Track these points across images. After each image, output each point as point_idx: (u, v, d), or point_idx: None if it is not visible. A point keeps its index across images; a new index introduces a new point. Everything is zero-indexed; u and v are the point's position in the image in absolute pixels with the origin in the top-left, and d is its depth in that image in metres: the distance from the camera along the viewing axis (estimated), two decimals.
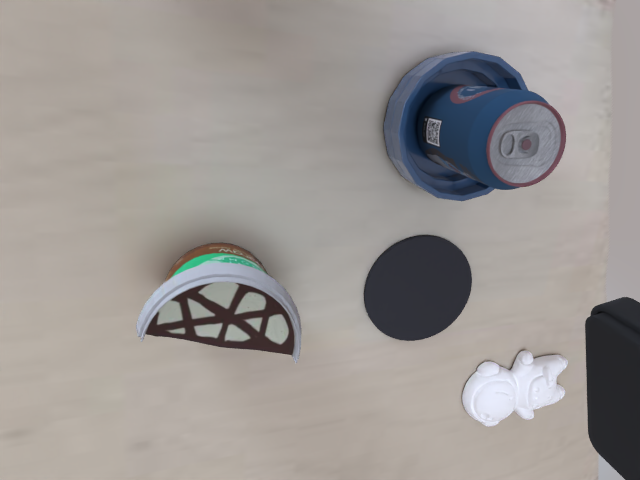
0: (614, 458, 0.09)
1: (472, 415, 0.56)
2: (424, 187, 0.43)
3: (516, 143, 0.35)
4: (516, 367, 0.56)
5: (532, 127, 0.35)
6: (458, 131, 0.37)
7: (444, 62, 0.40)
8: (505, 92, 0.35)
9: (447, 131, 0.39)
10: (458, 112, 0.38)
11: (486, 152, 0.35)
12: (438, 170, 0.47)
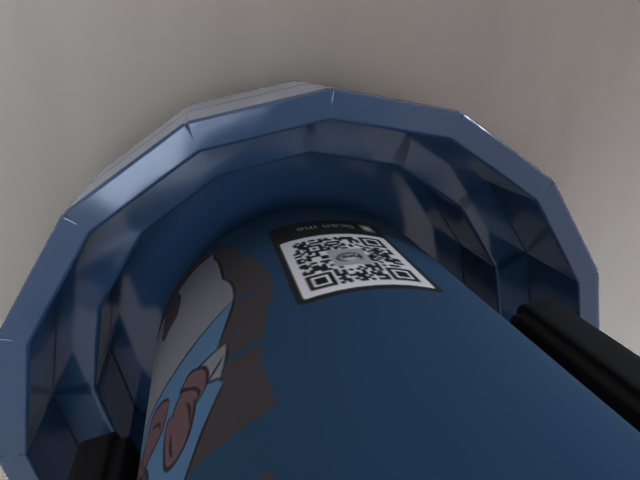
0: None
1: None
2: (48, 258, 0.08)
3: None
4: None
5: None
6: (540, 422, 0.05)
7: (586, 269, 0.10)
8: None
9: (437, 327, 0.06)
10: (570, 380, 0.06)
11: None
12: (134, 315, 0.13)
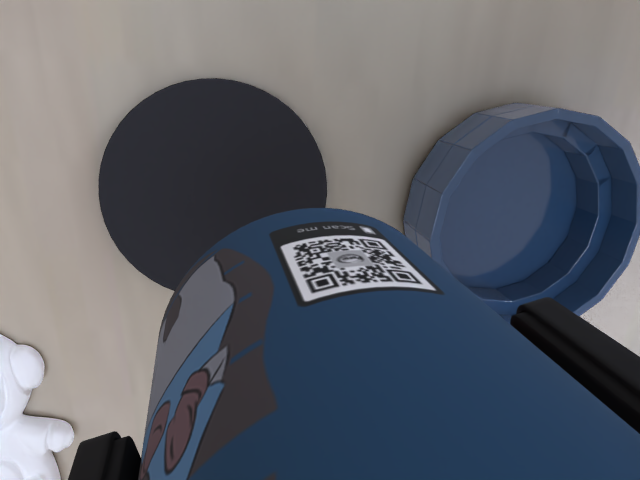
0: None
1: None
2: (463, 165, 0.24)
3: None
4: (35, 422, 0.27)
5: None
6: (541, 424, 0.05)
7: None
8: None
9: (437, 330, 0.06)
10: (572, 382, 0.06)
11: None
12: None
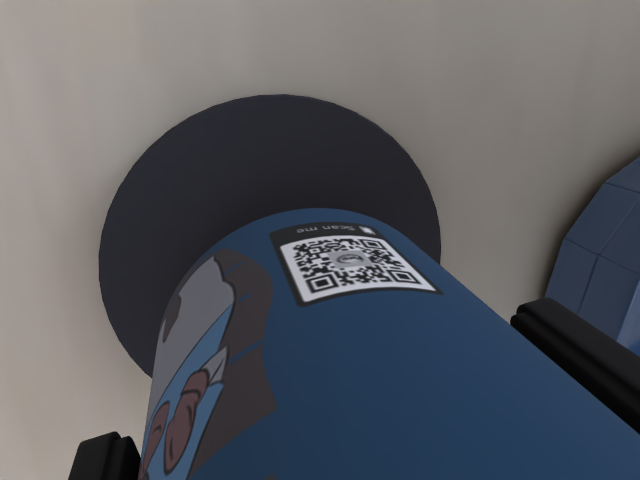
0: None
1: None
2: None
3: None
4: None
5: None
6: (540, 424, 0.05)
7: None
8: None
9: (437, 330, 0.06)
10: (572, 383, 0.06)
11: None
12: None
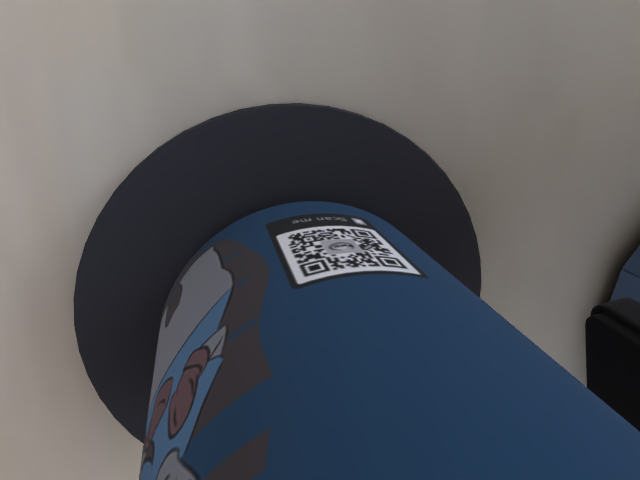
0: None
1: None
2: None
3: None
4: None
5: None
6: (508, 384, 0.05)
7: None
8: None
9: (420, 308, 0.07)
10: (541, 354, 0.07)
11: None
12: None
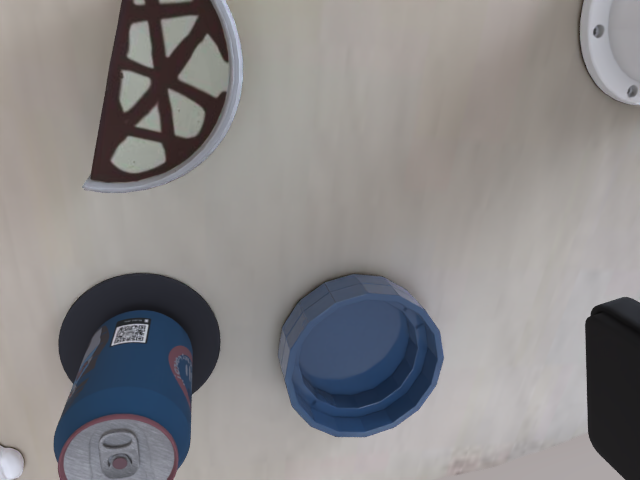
0: (614, 458, 0.09)
1: None
2: (303, 332, 0.36)
3: (121, 450, 0.26)
4: None
5: (144, 464, 0.27)
6: (132, 369, 0.28)
7: (436, 331, 0.38)
8: (186, 417, 0.28)
9: (132, 353, 0.30)
10: (157, 363, 0.30)
11: (104, 416, 0.26)
12: (302, 342, 0.40)
